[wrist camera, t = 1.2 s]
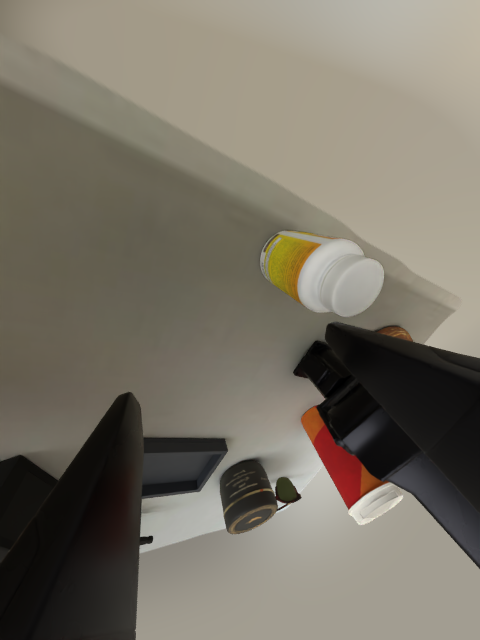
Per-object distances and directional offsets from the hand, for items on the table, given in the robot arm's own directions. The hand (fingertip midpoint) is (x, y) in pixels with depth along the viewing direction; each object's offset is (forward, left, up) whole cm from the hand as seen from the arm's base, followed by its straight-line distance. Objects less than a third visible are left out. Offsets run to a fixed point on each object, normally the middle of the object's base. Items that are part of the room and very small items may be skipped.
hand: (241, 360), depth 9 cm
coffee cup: (-32, +17, -13) cm, 38 cm away
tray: (-7, +30, -13) cm, 34 cm away
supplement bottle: (-7, -5, -13) cm, 16 cm away
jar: (-24, +35, -13) cm, 45 cm away
